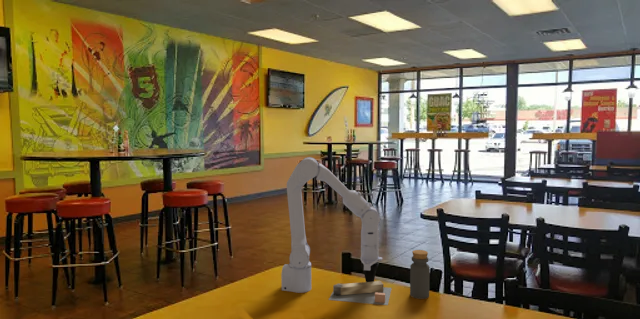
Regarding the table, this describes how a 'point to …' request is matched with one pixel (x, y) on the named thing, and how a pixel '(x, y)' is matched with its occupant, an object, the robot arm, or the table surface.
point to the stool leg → (358, 288)
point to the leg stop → (380, 297)
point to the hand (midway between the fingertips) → (369, 285)
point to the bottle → (419, 275)
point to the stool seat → (363, 297)
